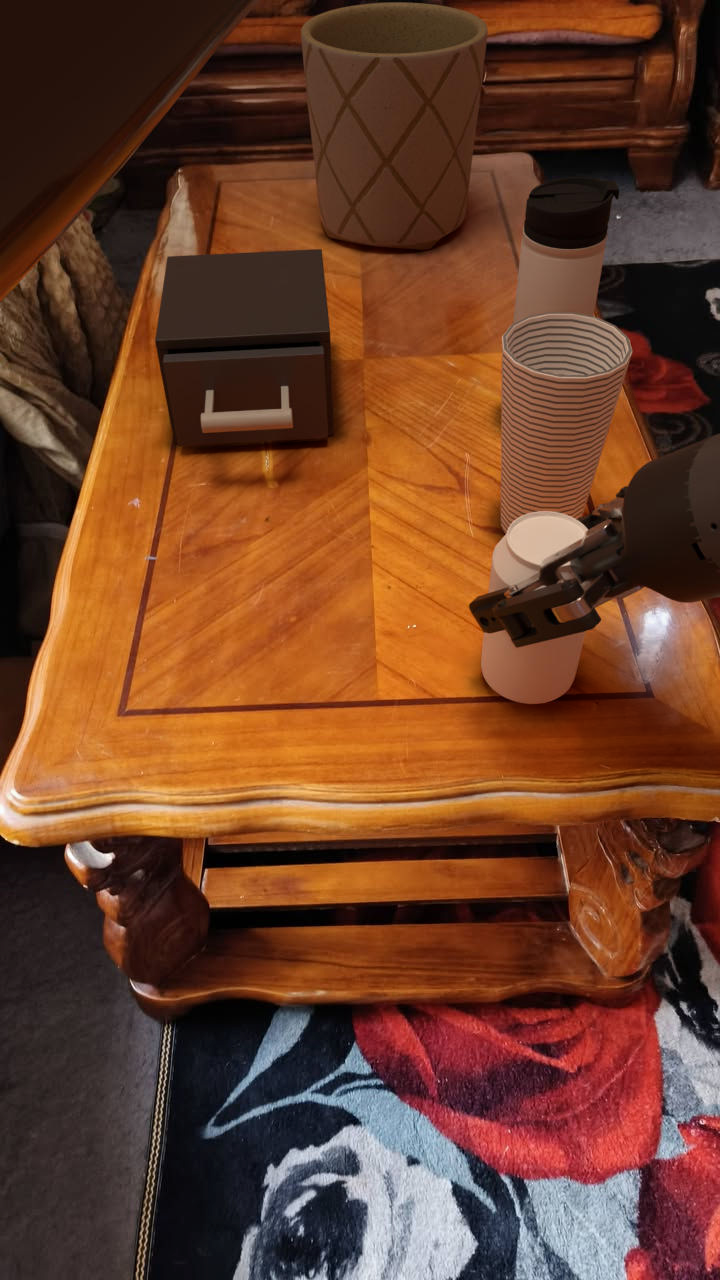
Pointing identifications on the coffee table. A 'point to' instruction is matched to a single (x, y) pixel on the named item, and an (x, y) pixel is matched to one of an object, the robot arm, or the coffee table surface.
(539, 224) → the travel mug
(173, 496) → the coffee table surface
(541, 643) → the beverage can
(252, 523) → the coffee table surface
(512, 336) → the cup
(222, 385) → the pull-out drawer
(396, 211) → the planter
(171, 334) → the single drawer box
